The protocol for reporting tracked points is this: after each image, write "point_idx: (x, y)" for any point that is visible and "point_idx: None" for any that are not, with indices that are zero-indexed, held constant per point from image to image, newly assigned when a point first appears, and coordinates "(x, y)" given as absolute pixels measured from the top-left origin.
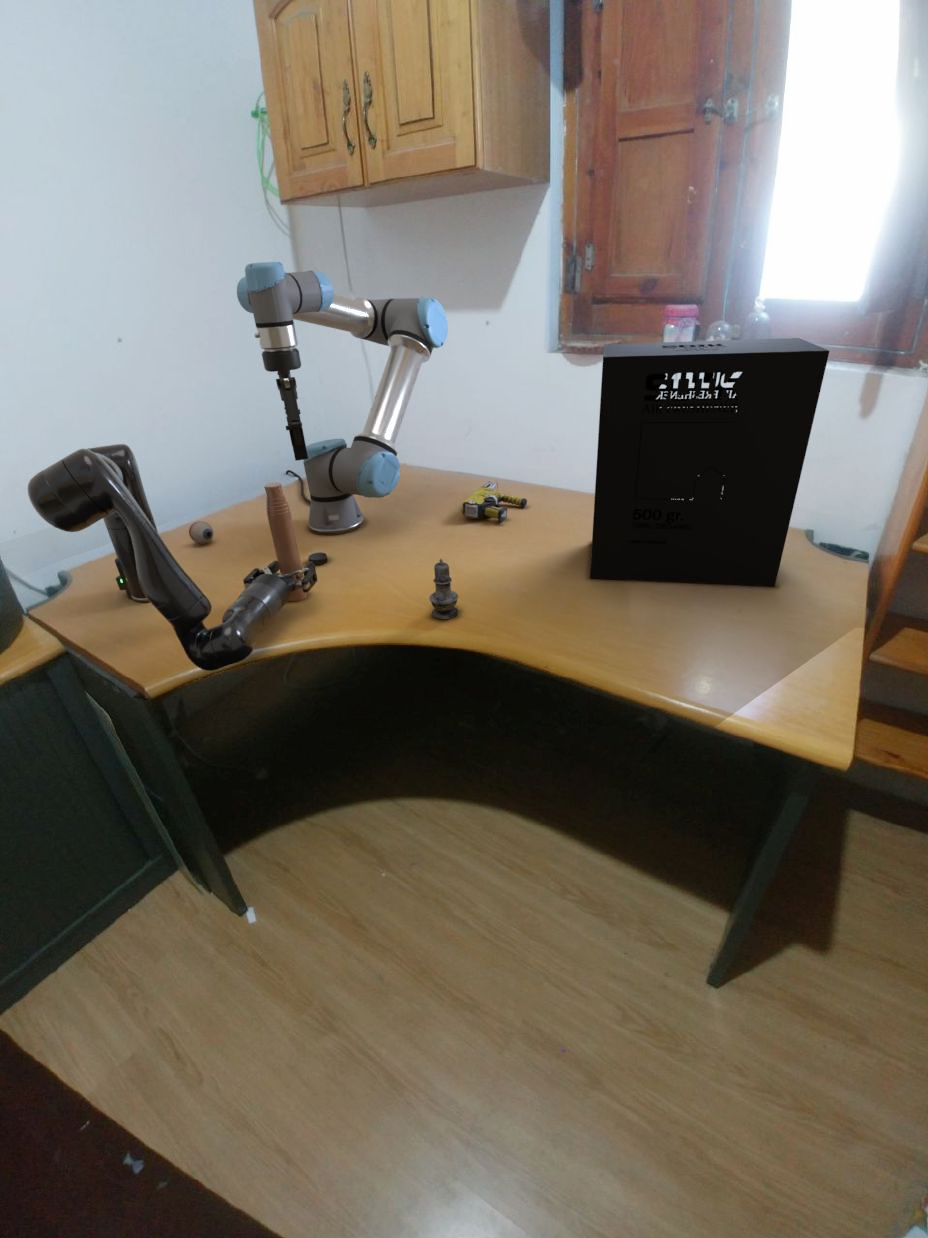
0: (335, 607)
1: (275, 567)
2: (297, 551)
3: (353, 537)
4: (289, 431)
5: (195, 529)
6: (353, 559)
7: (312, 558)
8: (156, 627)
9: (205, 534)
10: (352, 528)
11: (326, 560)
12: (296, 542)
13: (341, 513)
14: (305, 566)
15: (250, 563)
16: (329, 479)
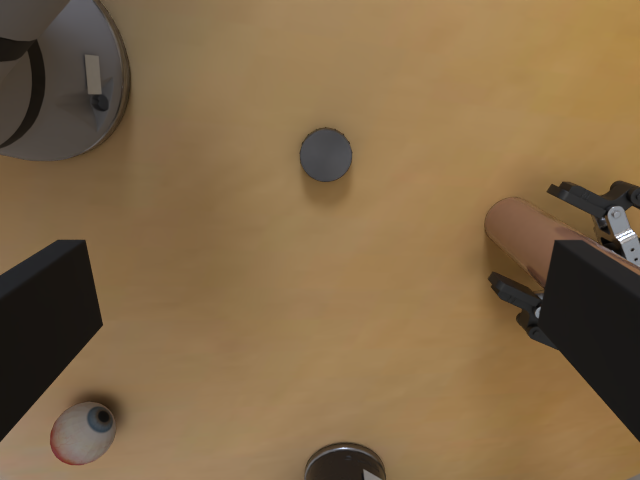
0: (619, 137)
1: (513, 284)
2: (593, 240)
3: (169, 22)
4: (34, 401)
5: (98, 452)
6: (350, 49)
7: (337, 171)
8: (495, 456)
9: (108, 424)
10: (106, 14)
11: (338, 131)
12: (601, 247)
13: (77, 41)
14: (593, 213)
15: (265, 315)
16: (9, 62)
